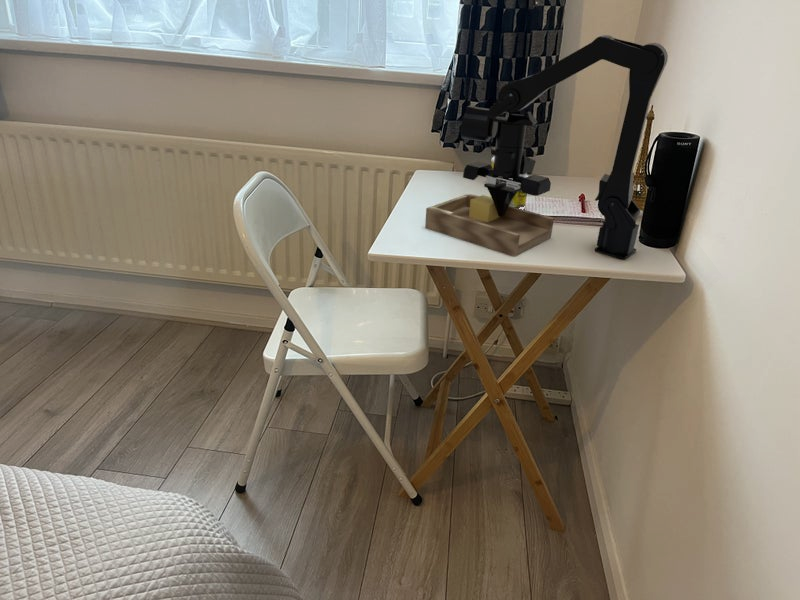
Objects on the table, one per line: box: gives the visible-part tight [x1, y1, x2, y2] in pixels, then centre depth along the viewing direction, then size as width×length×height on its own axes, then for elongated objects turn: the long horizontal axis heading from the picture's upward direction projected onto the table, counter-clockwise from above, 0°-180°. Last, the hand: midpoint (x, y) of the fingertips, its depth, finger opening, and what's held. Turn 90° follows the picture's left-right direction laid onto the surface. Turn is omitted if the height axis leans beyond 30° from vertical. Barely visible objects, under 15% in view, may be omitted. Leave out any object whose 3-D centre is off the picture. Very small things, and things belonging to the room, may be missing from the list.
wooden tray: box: [424, 193, 555, 257], centre depth 132 cm, size 23×15×5 cm, turn 49°
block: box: [469, 194, 500, 222], centre depth 135 cm, size 5×5×4 cm
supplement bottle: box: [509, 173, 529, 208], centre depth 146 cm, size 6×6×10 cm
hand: (501, 216), depth 133 cm, fingers closed
